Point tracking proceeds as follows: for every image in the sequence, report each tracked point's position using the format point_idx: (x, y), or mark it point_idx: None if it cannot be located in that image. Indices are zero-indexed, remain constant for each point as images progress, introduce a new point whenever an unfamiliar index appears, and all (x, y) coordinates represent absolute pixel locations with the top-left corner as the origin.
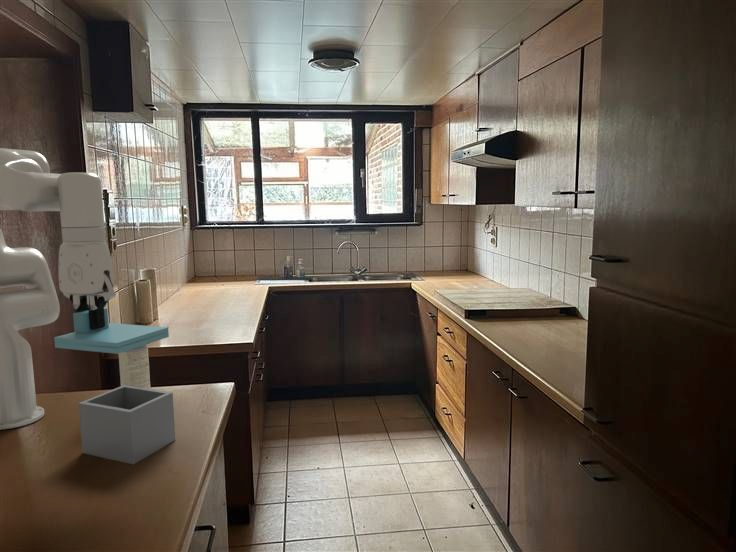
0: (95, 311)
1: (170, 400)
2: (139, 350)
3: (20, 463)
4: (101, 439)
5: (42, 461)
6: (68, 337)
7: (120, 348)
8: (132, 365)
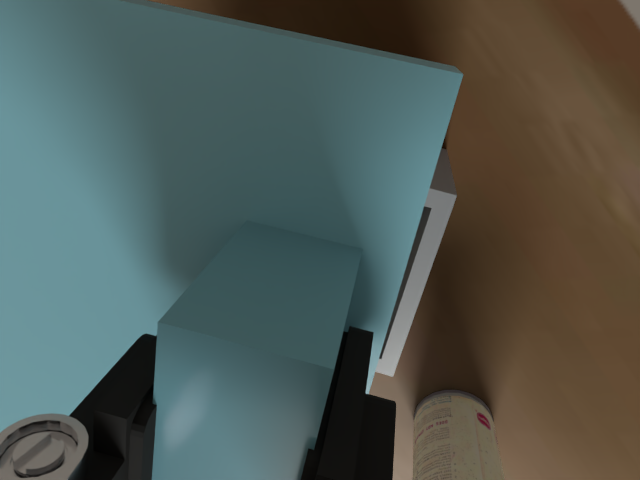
0: (87, 428)
1: None
2: None
3: (609, 62)
4: None
5: (541, 84)
6: (298, 80)
7: None
8: None
